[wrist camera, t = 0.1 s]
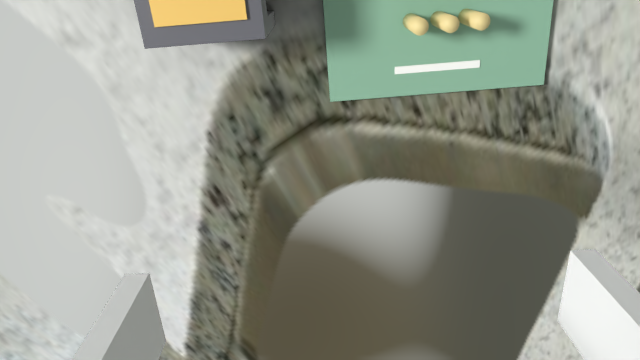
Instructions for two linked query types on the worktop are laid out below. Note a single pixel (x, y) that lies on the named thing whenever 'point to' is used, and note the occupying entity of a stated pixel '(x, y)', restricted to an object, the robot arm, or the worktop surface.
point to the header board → (434, 46)
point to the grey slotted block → (202, 21)
